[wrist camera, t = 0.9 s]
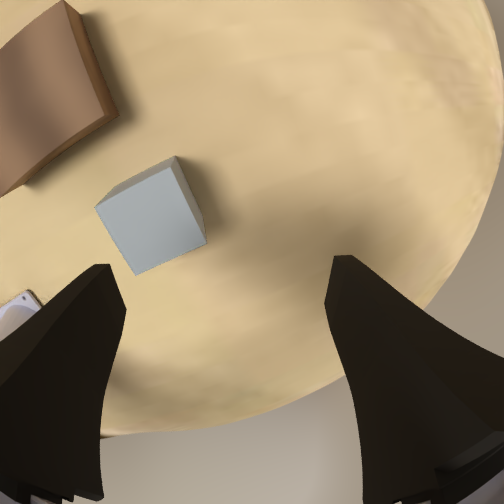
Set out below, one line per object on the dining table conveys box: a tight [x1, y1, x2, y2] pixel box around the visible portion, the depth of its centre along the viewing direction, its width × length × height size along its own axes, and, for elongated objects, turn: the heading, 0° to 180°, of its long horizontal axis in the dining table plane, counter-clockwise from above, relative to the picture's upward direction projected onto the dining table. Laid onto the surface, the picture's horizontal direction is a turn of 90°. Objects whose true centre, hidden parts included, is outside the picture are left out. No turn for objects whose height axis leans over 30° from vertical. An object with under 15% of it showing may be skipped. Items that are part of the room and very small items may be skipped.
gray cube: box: [94, 156, 207, 276], centre depth 17 cm, size 5×5×5 cm
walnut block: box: [0, 0, 119, 198], centre depth 11 cm, size 10×10×4 cm
